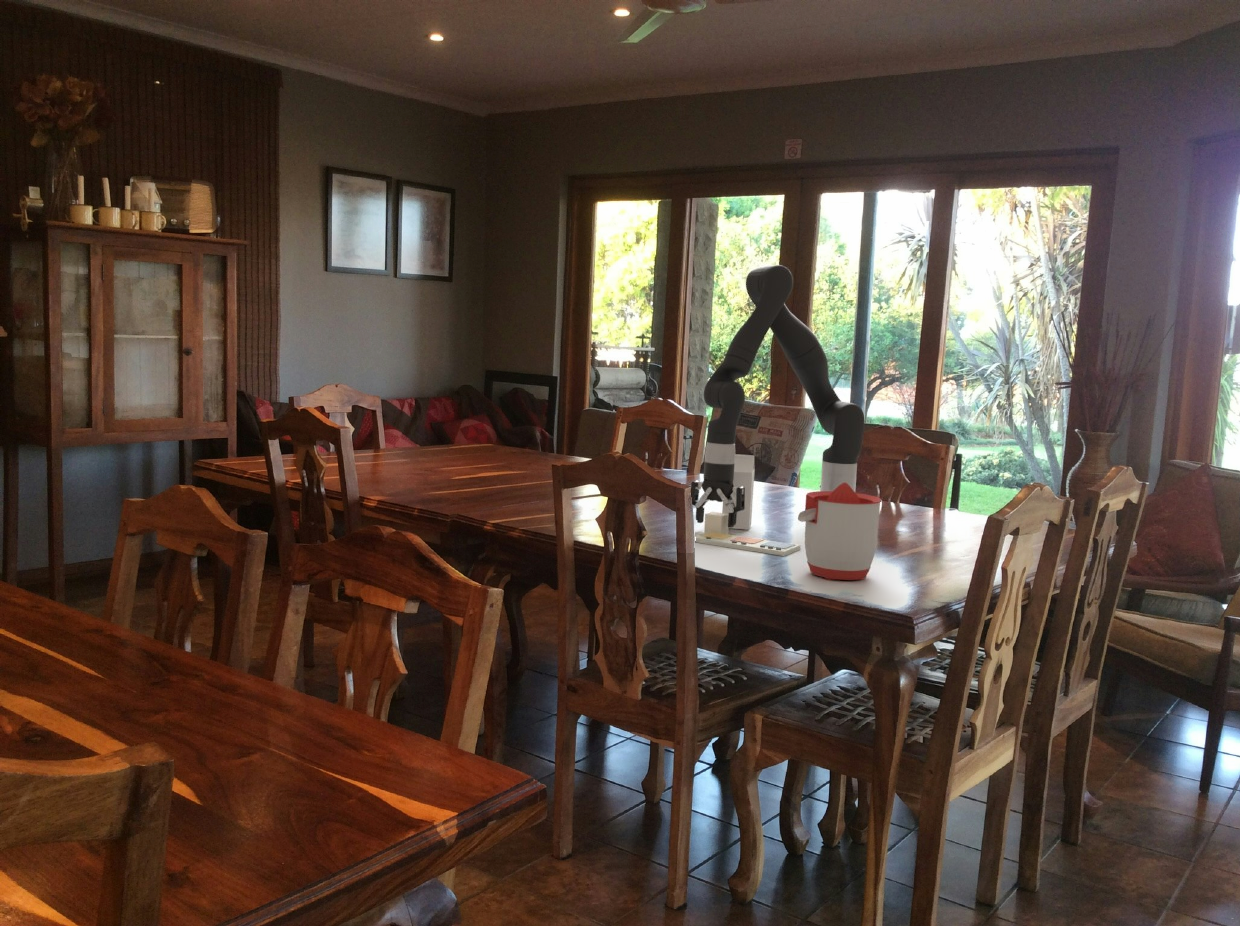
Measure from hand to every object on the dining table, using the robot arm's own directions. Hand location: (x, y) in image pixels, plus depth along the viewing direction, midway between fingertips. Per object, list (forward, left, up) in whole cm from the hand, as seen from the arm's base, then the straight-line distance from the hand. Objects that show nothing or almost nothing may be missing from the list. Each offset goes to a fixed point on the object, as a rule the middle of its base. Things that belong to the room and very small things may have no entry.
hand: (715, 524), depth 269 cm
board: (+9, +12, -2) cm, 15 cm away
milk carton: (-12, 0, -2) cm, 12 cm away
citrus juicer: (+25, +40, -2) cm, 47 cm away
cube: (0, 0, -2) cm, 2 cm away
